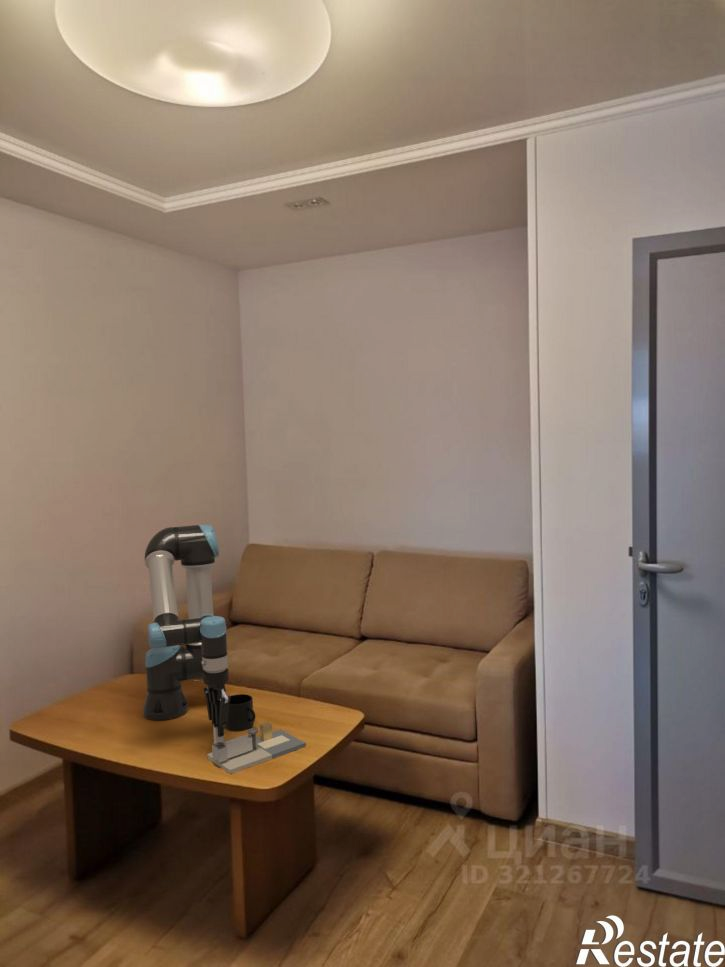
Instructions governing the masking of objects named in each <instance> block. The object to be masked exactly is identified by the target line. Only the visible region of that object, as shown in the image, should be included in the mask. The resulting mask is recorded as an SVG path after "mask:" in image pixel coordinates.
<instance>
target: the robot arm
mask: <svg viewBox="0 0 725 967" xmlns="http://www.w3.org/2000/svg"><path fill="white" fill-rule="evenodd" d="M219 552H220V551H219V544H218V538H217V535H216V532H215V529H214V527H213V526H212V525H211V524H210V525H209V524H196V525H194V524H193V525H184V526H170V527H169V526H168V527H166V528H163V529H161V530H159V531H158V532H157V533H156V534H154V536H152V538H151V539H150V540H149V542H148V544H147V546H146V548H145V550H144V565H145V567H146V568H147V569H148V575H149V586H150V598H151V608H152V616H153V619H152V620H153V622H152V623H149V624H148V625H147V630H148V631H147V632H148V645H149V647H151V648H150V649H148V651H146V653H145V664H144V667H145V668H146V669H145V670H146V671H145V672H146V689H147V693H146V697H145V700H144V704H143V708H142V713H143V714H142V715H143V717H144V718H145V719H147V720H151V721H167V720H171V719H176V718H180V717H181V716H183V715H185V714H186V713H187V712H188V711H189V703H188V700H187V698H186V696H185V692H184V690H183V686H182V682H184V681H191V680H193V681H194V680H197V679H202V682H203V684H204V685H205V686H207V687H203V693H204V696H205V703H206V708H207V716H208V720H209V721H211V724H212V726H213V744H215V743H218V742H221V743H222V742H225V741H226V740H225V725H227V724H228V713H229V702H230V699H231V697H230V696H231V695H227V694H226V693H227V692H226V691H227V690H226V684H227V682H229V680H230V679H229V669H228V668H229V658H228V657H229V656H228V647H227V645H228V641H227V625H226V619H225V617H223V616H220V615H218V616H217V615H214V605H213V603H214V600H213V586H212V584H213V583H212V582H213V581H212V566H213V565H214V564H215V562H216V561H215V560H216V559H215V558H218V557H219V556H220V553H219ZM175 561H176V562H177V561H180V566H181V567H183V568H184V569H185V574H186V575H185V577H186V594H187V595H186V596H187V612H188V618H187V619H179V612H178V603H177V596H176V589H175V588H176V587H175V586H176V585H175V579H174V571H173V570H174V569H173V565H174V564H175ZM182 645H183V646H182ZM184 645H185V646H184Z"/></svg>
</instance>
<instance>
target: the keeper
mask: <svg viewBox="0 0 725 967" xmlns="http://www.w3.org/2000/svg"><path fill="white" fill-rule="evenodd" d="M272 732H273V724H272V722H270V721H266V722H265V721H264V722H262V723H259V736H260V740H262V741H263V742H264V741H266V740H269V739H272Z"/></svg>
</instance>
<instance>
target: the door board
mask: <svg viewBox="0 0 725 967" xmlns="http://www.w3.org/2000/svg"><path fill="white" fill-rule="evenodd" d="M258 733H259V728H256V727H253V728H252V727H251V728H249V729H247V734H248V735H250V736H251V737H252V745H253V750H251V751H248V752H245V753H242V754H239V755H237V756H234V757H231V758H228V760H226V761H223V762H220V763H219V762H218V761H217V760H215V759H214V758H213V756H212V752H209V753H207V754H206V758H207V759H208V760H209V761H210V762H212V763H214V764H215V765H216V766H218V768H220V769H222V770H224V771H225V772H226V773H228V774H229V775H232V774H234V773H238V772H240V771H243V770H245V769H248V768H251V767H253V766H256V765H259V764H261V763H264V762H268V761H270V760H272V759H275V758H278V757H281V756H283V755H287V754H289V753H291V752H295V751H298V750H299V749H302V748H305V747H306V742H305V741H303V740H302V739H299V738H298V737H295V736H294V735H292V734H290V733H288V732H286V731H285V730H283V729H281V728H280V729H276V730H275V731H272V739H269V740H266V741H264V742H263V741H262V740H260V735H259V736H257V734H258Z"/></svg>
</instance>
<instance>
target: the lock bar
mask: <svg viewBox="0 0 725 967" xmlns="http://www.w3.org/2000/svg"><path fill="white" fill-rule="evenodd" d="M251 750H253V745H252V737H251V735H250V734H248V733H246V734H243V735H240V736H238V737H234V738H232V739H229V740H225V742H222V743H221V742H218V743H215V744H214V743H212V744H211V751H212V752H211V753H212V756H213V758H214V759H215V760H217V761H218V762H219V763H220V762H223V761H226V760H228V758H231V757H234V756H237V755H239V754H242V753H245V752H248V751H251Z"/></svg>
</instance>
